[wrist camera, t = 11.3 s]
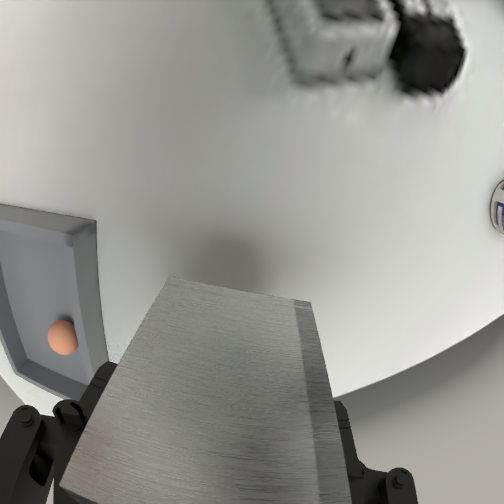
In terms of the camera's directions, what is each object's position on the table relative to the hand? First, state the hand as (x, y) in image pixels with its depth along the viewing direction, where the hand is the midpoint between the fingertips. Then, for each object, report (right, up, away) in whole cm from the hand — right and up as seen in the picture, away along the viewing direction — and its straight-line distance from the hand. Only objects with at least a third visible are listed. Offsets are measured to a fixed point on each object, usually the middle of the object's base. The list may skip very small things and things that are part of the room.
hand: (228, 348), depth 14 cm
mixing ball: (-17, -4, +9) cm, 20 cm away
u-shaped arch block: (0, 0, 0) cm, 0 cm away
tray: (-21, -1, +11) cm, 23 cm away
